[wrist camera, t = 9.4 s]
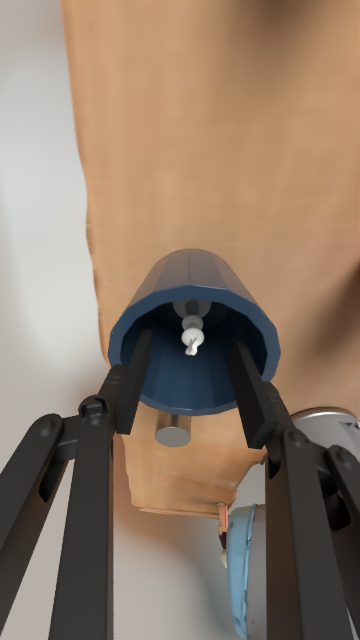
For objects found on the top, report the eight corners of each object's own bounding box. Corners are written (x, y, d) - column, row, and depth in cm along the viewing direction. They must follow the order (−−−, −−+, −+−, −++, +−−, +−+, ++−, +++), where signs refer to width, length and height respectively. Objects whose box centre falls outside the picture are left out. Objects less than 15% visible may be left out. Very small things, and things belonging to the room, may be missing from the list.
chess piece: (165, 306, 24) (152, 359, 15) (186, 274, 22) (183, 315, 13) (197, 324, 25) (201, 382, 16) (219, 295, 23) (237, 345, 14)
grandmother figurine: (232, 507, 62) (241, 570, 51) (222, 509, 63) (229, 571, 52) (220, 499, 59) (227, 565, 48) (210, 502, 60) (214, 566, 49)
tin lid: (206, 409, 36) (211, 465, 28) (139, 402, 36) (124, 456, 28) (222, 359, 29) (234, 413, 21) (139, 349, 29) (121, 400, 21)
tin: (225, 340, 27) (249, 423, 17) (142, 330, 27) (112, 407, 16) (251, 256, 21) (315, 300, 11) (144, 241, 21) (98, 272, 10)
